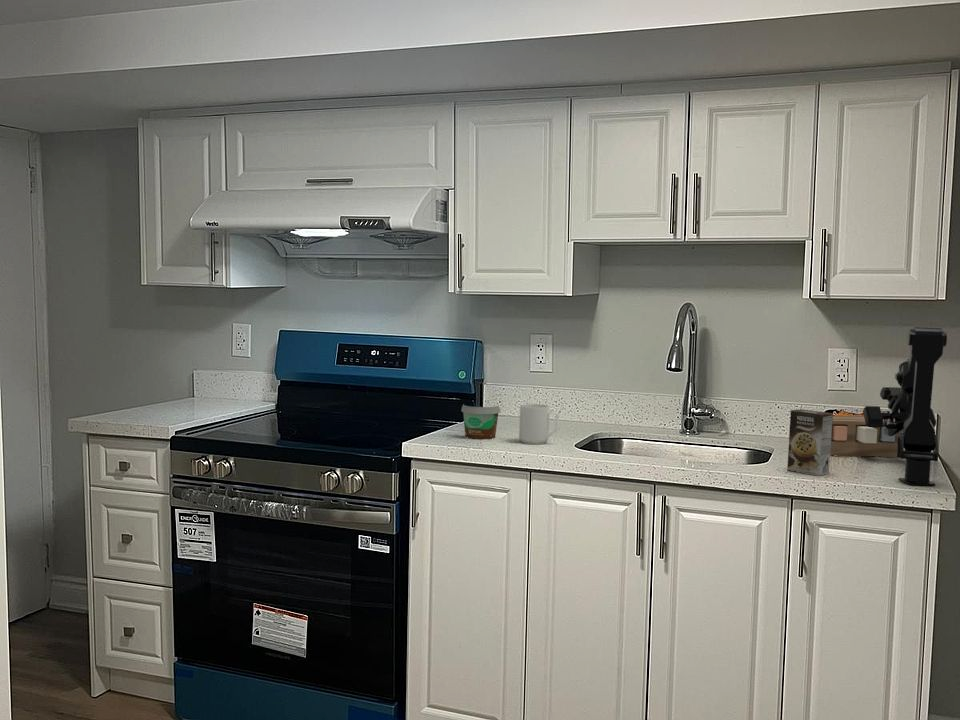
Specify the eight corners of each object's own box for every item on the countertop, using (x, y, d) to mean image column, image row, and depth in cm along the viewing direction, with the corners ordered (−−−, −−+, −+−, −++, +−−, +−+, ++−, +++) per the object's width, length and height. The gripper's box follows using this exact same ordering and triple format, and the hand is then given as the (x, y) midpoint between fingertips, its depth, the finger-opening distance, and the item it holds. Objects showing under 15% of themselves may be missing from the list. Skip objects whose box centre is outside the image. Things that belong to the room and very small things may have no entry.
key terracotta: (846, 440, 272) (847, 426, 271) (834, 440, 272) (835, 426, 271) (838, 437, 278) (839, 423, 277) (826, 437, 277) (827, 423, 277)
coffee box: (786, 470, 249) (789, 410, 248) (797, 468, 253) (800, 408, 252) (819, 476, 242) (822, 414, 241) (830, 473, 247) (833, 412, 246)
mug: (514, 443, 283) (515, 406, 282) (525, 439, 291) (526, 403, 290) (552, 446, 278) (553, 409, 277) (562, 442, 286) (563, 406, 285)
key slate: (894, 441, 272) (895, 427, 272) (882, 441, 272) (883, 427, 272) (885, 438, 278) (886, 424, 278) (873, 437, 278) (874, 424, 277)
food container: (456, 438, 288) (457, 406, 287) (460, 435, 294) (461, 403, 293) (496, 440, 286) (497, 408, 285) (499, 437, 292) (500, 405, 291)
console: (899, 457, 274) (901, 422, 273) (824, 455, 273) (826, 420, 272) (881, 450, 285) (883, 416, 285) (809, 448, 285) (810, 414, 284)
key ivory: (876, 443, 268) (877, 429, 268) (864, 443, 268) (865, 429, 268) (867, 439, 274) (868, 426, 274) (855, 439, 274) (856, 425, 274)
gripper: (934, 379, 264) (916, 413, 276) (866, 377, 265) (851, 411, 277) (945, 411, 257) (925, 444, 269) (875, 409, 258) (859, 442, 270)
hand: (890, 434), depth 271 cm, fingers closed
